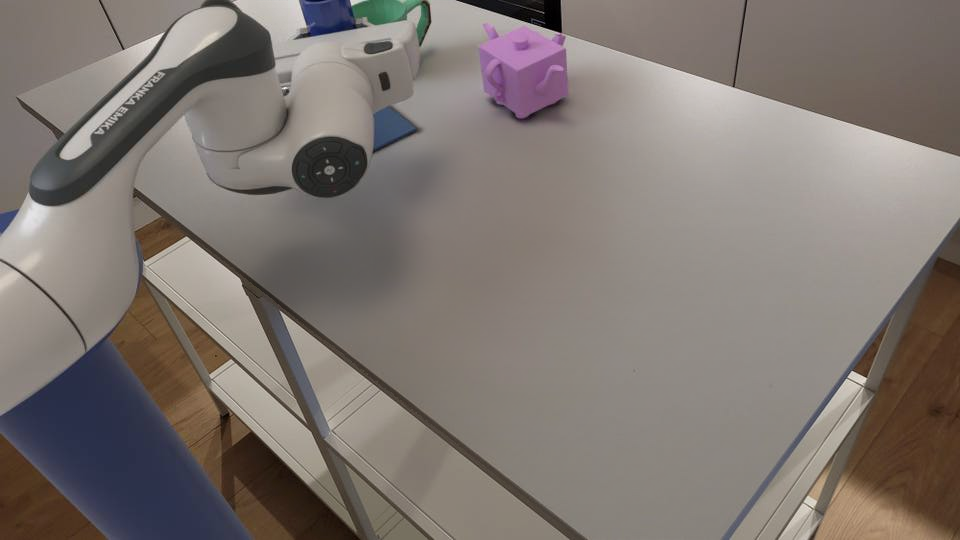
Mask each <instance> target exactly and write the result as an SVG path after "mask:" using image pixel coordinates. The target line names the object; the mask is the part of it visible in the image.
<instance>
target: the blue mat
mask: <svg viewBox="0 0 960 540" xmlns="http://www.w3.org/2000/svg"><path fill="white" fill-rule="evenodd" d="M373 117H374V146H373V153H374V152H376V151H379V150H380V149H382V148H384V147H386V146H388V145H390V144H391V143H394V142H396V141H399V140H400V139H402V138H404V137H406V136H409V135H410V134H412V133H415V132H417V131H418V130H417V127H415V126H414V124H412V123H411V122H409V121H408V120H407V119H405V117H403V116H402V115H400V114H399V113H398V112H396V110H394V109H393V108H392V107H390V106H388V107H386V108H384V109H382V110H380V111H378V112H376V113H374V114H373Z"/></svg>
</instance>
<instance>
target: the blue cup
mask: <svg viewBox="0 0 960 540" xmlns="http://www.w3.org/2000/svg"><path fill="white" fill-rule="evenodd" d="M298 2H299V6H300V10H301V12H302V15H303V20H304V22H305V26H306V27H307V29H308V33H309V36H310V37H313V36H319V35H325V34H330V33H336V32H342V31H347V30H353V29H356V26H355V17H354V13H353V9H352V6H353V5H352V3H351V0H298Z"/></svg>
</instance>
